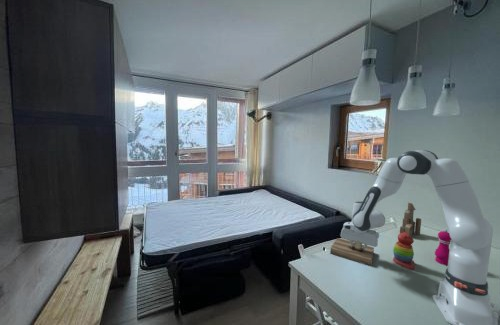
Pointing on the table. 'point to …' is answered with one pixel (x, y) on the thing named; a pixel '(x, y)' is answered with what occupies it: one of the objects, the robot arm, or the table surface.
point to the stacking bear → (404, 251)
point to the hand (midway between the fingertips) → (357, 248)
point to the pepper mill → (443, 247)
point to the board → (352, 251)
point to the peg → (358, 246)
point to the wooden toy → (410, 222)
